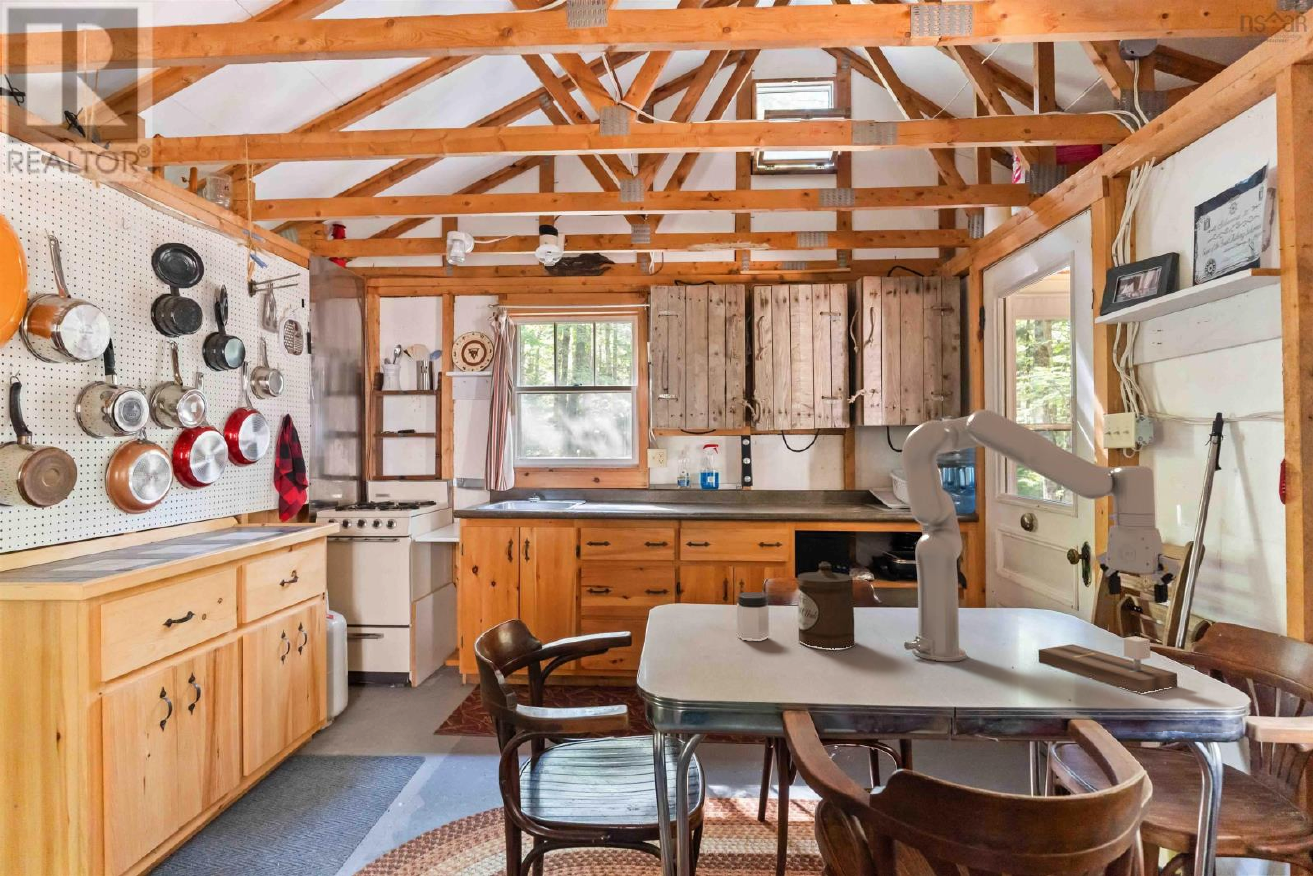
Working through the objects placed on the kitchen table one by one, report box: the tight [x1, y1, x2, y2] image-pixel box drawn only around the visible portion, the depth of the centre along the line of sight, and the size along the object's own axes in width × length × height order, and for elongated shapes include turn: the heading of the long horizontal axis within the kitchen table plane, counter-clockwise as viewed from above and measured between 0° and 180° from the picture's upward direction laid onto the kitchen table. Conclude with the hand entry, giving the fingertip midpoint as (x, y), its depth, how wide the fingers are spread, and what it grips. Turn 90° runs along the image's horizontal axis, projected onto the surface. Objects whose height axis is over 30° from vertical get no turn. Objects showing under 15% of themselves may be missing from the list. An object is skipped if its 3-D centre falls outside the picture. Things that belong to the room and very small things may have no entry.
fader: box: [1123, 635, 1151, 670], centre depth 146 cm, size 4×3×7 cm
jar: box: [736, 591, 770, 639], centre depth 185 cm, size 9×8×12 cm
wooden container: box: [797, 561, 855, 649], centre depth 179 cm, size 15×15×22 cm
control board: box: [1038, 644, 1178, 693], centre depth 153 cm, size 12×24×3 cm, turn 22°
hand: (1137, 598), depth 146 cm, fingers open, 9 cm apart
